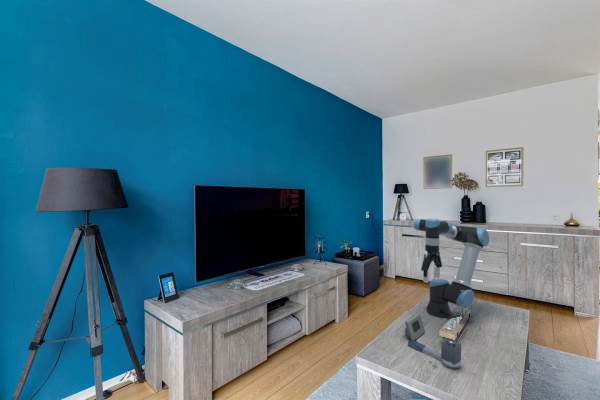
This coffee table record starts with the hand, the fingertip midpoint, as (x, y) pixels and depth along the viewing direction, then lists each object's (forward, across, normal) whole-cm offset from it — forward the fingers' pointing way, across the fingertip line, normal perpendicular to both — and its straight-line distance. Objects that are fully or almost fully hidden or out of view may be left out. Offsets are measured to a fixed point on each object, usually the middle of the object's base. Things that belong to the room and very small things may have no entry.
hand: (431, 279), depth 166 cm
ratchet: (+32, +23, +13) cm, 41 cm away
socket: (+29, +23, +22) cm, 43 cm away
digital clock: (+32, +12, -4) cm, 34 cm away
